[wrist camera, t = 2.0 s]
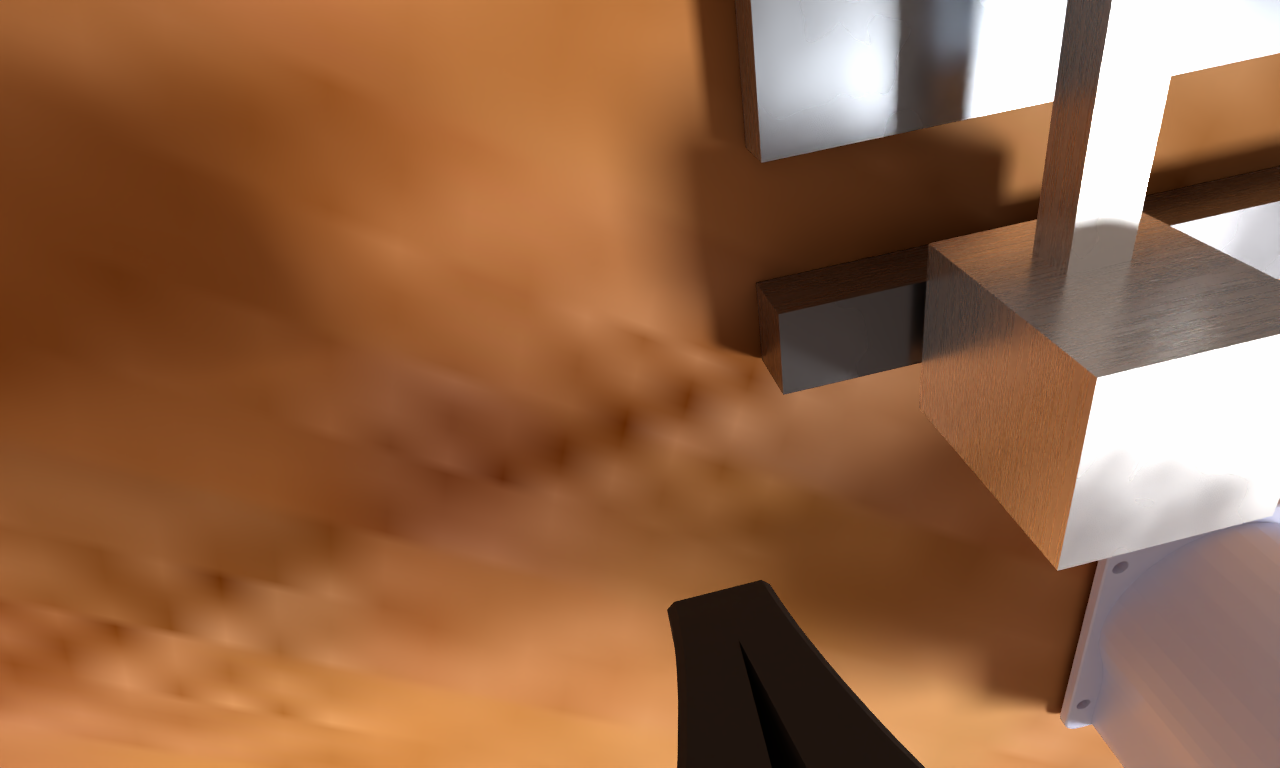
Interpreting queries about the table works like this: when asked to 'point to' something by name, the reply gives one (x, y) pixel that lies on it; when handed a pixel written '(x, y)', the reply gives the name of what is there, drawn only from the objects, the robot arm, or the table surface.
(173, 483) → the table surface
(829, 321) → the bar
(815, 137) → the bolt hole plate
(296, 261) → the table surface
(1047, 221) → the sliding divider leg
